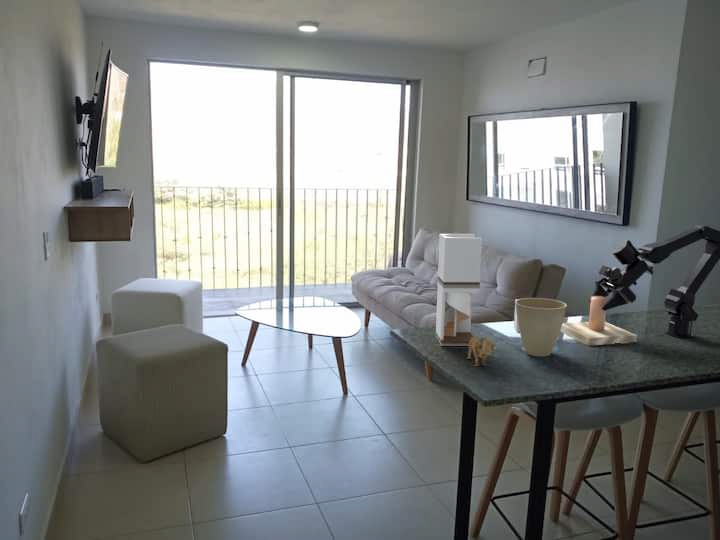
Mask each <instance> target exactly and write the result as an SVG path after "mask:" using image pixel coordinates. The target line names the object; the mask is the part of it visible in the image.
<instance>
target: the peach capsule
mask: <svg viewBox="0 0 720 540" xmlns="http://www.w3.org/2000/svg"><path fill="white" fill-rule="evenodd" d="M590 299H591V304H590V303H589V307H590V308H589V317H588V318H589V320H588V322H589V329H590V330H593V331H604V327H605V322H606V314H607V313H606V312H607V310H605V311H603V310H602V307H603V306H604V305H605V304H606V302H607V301H608V298H607V296H606V297H602V296H592V295H591V296H590Z"/></svg>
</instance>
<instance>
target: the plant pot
mask: <svg viewBox="0 0 720 540" xmlns="http://www.w3.org/2000/svg"><path fill="white" fill-rule="evenodd" d="M566 311H567V303H565V302H563V301H561V300H556V299H551V298H544V297H543V298H541V297H527V298H525V297H524V298H519V299H518V300H517V301H516V312H517V320H518V325H519V330H520V332H519V334H520V338H521V339H520V340H521V341H522V345H523V348H524V350H525V353H526V354H527V355H529V356H533V357H539V358H540V357H543V358H544V357H548V356H550V355H551V354H552V352H553V350H554V347H555V345H556V344H557V341H558V338H559V335H560V333H561V332H560V330H561V327H562V323H564V319H565V315H566Z"/></svg>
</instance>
